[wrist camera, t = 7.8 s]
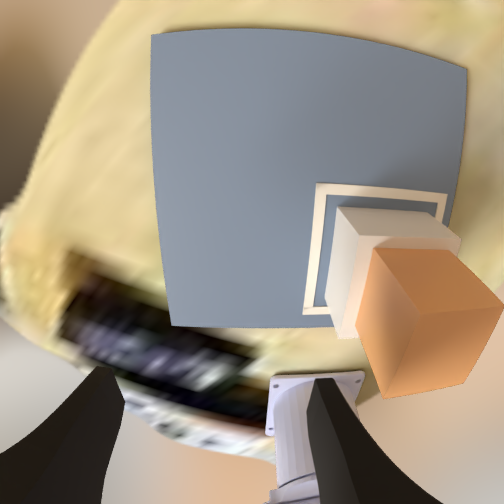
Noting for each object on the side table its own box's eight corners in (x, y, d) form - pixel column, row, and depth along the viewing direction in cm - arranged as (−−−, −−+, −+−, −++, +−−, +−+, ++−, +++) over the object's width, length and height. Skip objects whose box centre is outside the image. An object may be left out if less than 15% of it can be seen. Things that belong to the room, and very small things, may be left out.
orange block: (425, 320, 16) (463, 383, 11) (354, 325, 16) (383, 398, 11) (449, 250, 14) (505, 305, 9) (372, 247, 14) (420, 313, 9)
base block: (406, 294, 20) (430, 331, 16) (324, 297, 20) (338, 339, 16) (426, 212, 17) (461, 239, 13) (336, 206, 17) (359, 235, 13)
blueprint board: (416, 316, 21) (419, 322, 21) (173, 320, 21) (171, 326, 20) (461, 69, 13) (467, 69, 13) (154, 36, 13) (150, 34, 12)
